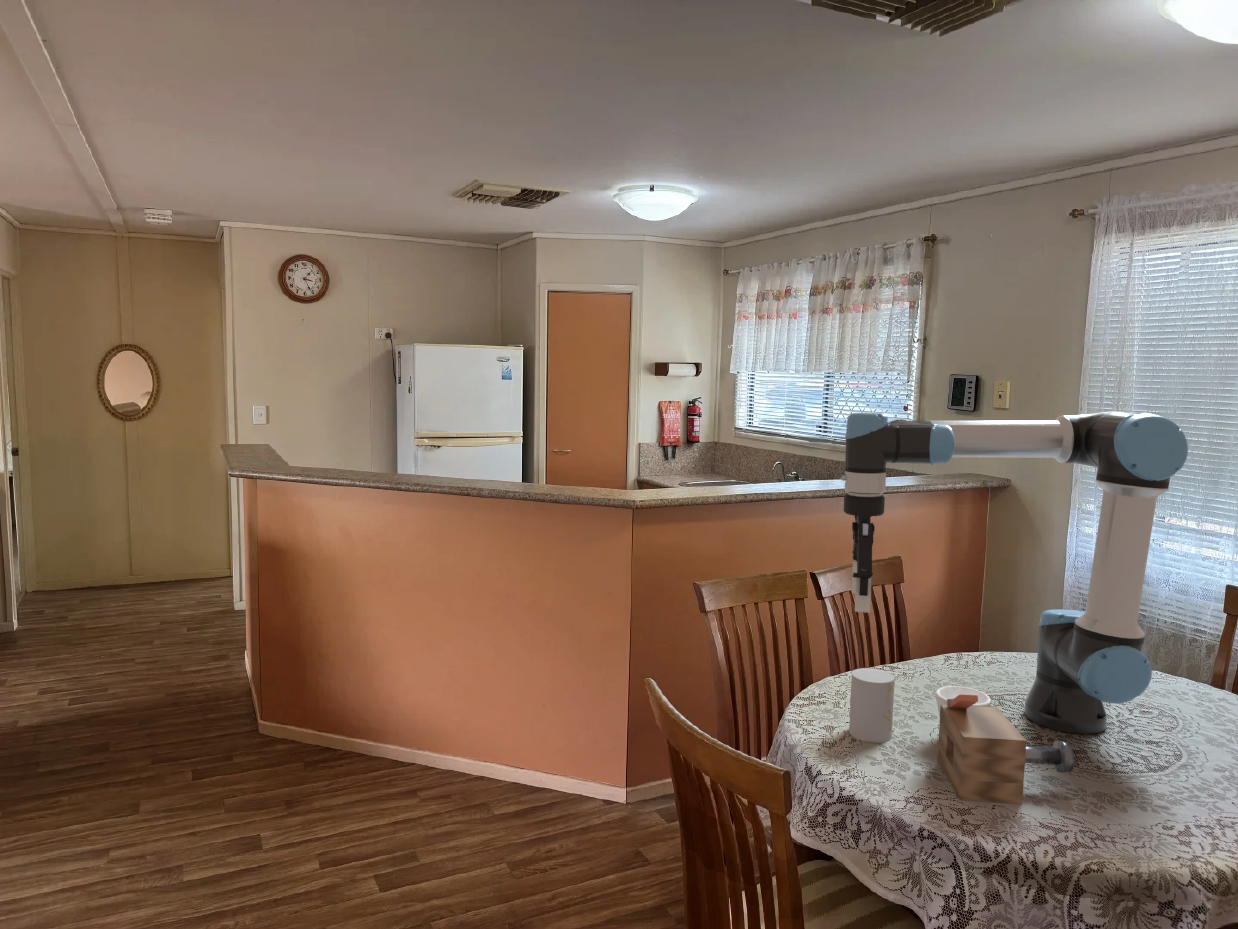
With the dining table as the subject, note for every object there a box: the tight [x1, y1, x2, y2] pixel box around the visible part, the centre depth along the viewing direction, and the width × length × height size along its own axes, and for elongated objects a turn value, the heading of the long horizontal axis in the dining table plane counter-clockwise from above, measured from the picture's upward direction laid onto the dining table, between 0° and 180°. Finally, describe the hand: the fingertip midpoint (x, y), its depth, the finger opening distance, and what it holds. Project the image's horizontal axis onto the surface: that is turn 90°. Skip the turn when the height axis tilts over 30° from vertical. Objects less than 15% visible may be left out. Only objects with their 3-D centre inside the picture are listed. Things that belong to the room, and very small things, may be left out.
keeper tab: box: [947, 695, 978, 709], centre depth 148 cm, size 3×8×2 cm
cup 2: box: [935, 685, 992, 717], centre depth 162 cm, size 10×10×9 cm
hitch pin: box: [1025, 740, 1075, 774], centre depth 145 cm, size 15×5×5 cm, turn 84°
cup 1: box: [848, 667, 896, 744], centre depth 165 cm, size 8×8×12 cm
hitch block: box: [936, 704, 1027, 805], centre depth 146 cm, size 10×14×11 cm
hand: (860, 602), depth 161 cm, fingers open, 13 cm apart
